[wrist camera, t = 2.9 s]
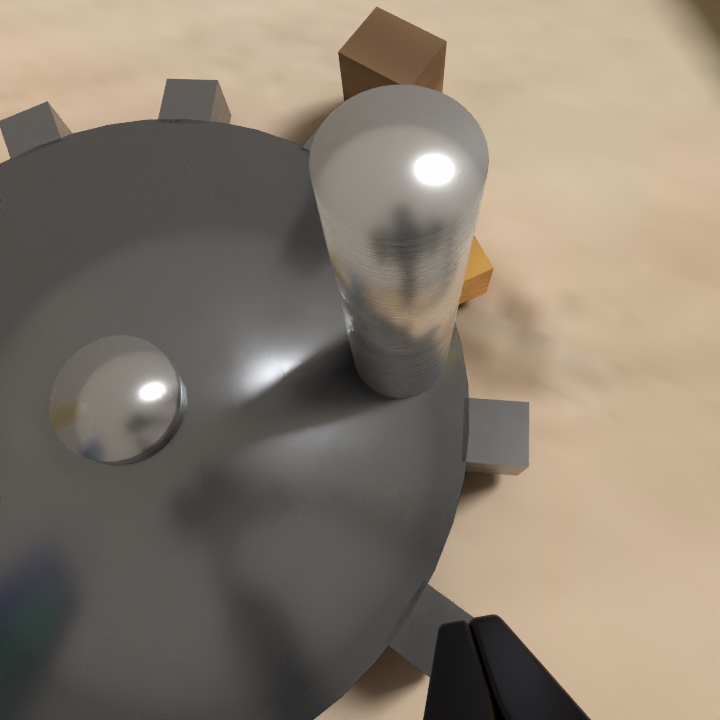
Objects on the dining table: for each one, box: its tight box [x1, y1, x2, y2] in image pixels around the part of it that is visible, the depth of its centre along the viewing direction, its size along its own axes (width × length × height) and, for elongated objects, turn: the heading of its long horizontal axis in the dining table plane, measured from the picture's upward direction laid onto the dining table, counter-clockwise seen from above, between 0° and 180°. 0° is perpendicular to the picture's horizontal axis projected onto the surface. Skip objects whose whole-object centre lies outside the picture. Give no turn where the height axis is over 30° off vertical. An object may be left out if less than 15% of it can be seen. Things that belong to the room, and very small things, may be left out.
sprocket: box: [0, 79, 529, 720], centre depth 17 cm, size 25×25×12 cm
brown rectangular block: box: [338, 7, 447, 102], centre depth 24 cm, size 2×3×4 cm
